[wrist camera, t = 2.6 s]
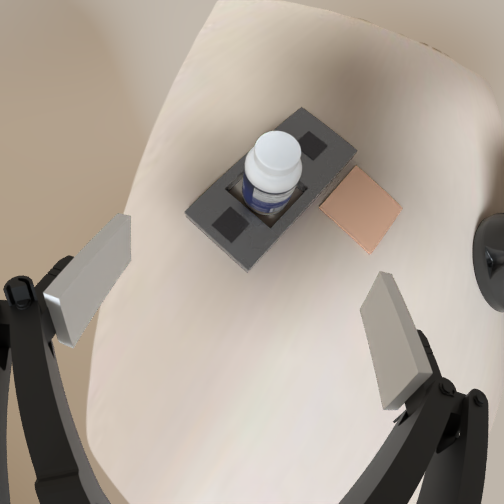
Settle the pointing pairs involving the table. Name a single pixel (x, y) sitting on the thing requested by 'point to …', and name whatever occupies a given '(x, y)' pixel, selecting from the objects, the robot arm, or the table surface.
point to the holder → (312, 184)
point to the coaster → (361, 209)
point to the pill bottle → (271, 172)
